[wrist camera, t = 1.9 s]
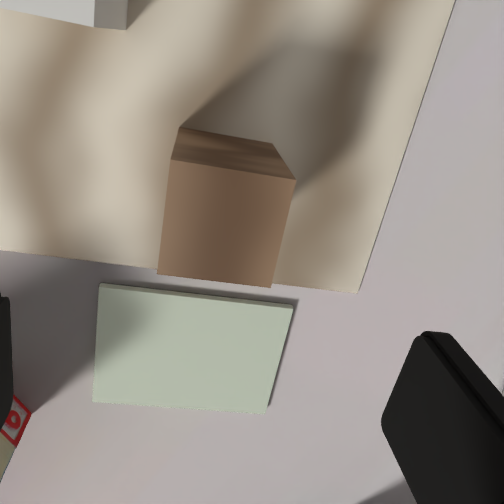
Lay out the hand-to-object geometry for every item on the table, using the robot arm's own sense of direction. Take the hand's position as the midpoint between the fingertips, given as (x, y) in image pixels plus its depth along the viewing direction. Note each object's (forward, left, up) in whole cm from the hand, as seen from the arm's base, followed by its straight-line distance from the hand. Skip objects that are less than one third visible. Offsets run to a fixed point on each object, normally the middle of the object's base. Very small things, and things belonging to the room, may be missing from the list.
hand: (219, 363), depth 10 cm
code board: (0, -4, -16) cm, 17 cm away
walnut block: (-1, 0, -16) cm, 16 cm away
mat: (-1, +12, -16) cm, 20 cm away
